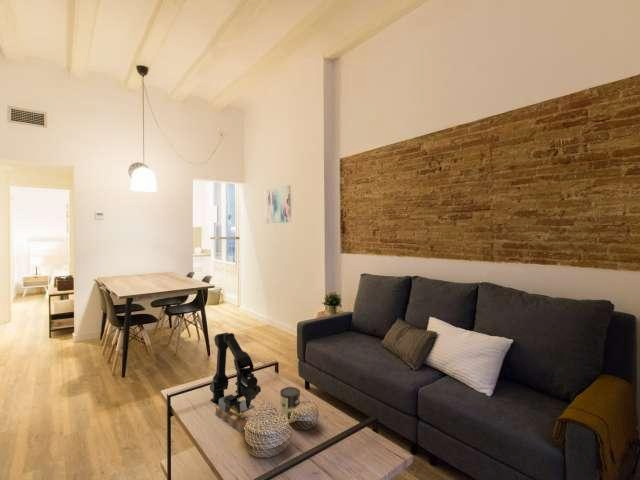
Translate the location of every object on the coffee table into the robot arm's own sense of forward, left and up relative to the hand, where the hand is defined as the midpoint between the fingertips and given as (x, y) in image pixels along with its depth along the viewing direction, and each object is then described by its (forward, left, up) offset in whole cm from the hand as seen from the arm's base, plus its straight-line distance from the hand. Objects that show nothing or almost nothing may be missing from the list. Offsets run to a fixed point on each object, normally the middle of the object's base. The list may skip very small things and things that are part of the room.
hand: (243, 410), depth 173 cm
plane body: (-6, -2, -7) cm, 9 cm away
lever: (0, -2, -1) cm, 3 cm away
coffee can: (+13, +20, -7) cm, 25 cm away
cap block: (-12, -2, -3) cm, 12 cm away
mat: (-14, +9, -7) cm, 18 cm away
